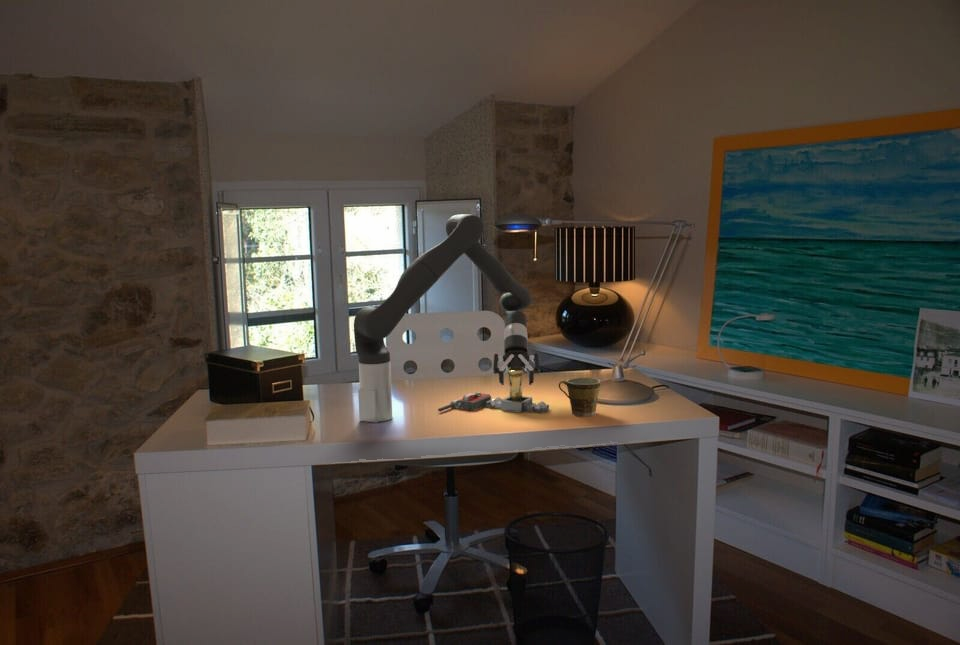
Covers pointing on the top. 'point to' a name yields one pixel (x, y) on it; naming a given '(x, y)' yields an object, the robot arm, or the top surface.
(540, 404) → the chain end
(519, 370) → the link pin
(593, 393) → the ceramic cup
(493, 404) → the chain end
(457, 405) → the walkie-talkie
